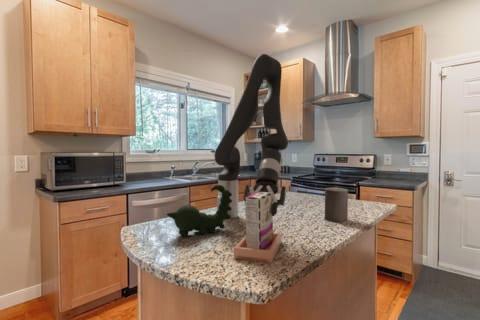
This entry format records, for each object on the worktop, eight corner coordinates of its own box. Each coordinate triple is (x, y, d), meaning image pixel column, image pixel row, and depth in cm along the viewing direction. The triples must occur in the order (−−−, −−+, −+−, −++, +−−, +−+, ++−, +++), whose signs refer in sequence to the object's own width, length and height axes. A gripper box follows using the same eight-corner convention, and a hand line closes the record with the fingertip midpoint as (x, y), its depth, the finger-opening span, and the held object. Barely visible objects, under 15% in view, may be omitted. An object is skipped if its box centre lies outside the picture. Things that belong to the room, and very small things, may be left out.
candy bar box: (259, 240, 88) (259, 191, 88) (273, 242, 86) (273, 192, 85) (244, 251, 78) (244, 196, 78) (260, 254, 76) (260, 197, 75)
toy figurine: (222, 229, 109) (161, 234, 96) (225, 183, 109) (165, 182, 96) (233, 235, 101) (168, 241, 88) (237, 186, 101) (173, 185, 88)
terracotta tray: (233, 258, 75) (233, 247, 75) (250, 239, 92) (249, 230, 91) (272, 262, 72) (272, 252, 72) (281, 242, 88) (281, 233, 88)
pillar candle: (320, 220, 117) (321, 186, 116) (329, 215, 124) (329, 184, 124) (343, 224, 111) (344, 188, 110) (350, 219, 118) (351, 185, 117)
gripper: (246, 166, 94) (236, 206, 83) (287, 167, 89) (282, 208, 78) (251, 180, 99) (241, 218, 88) (289, 181, 95) (285, 222, 84)
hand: (261, 213), depth 83 cm, fingers open, 7 cm apart
